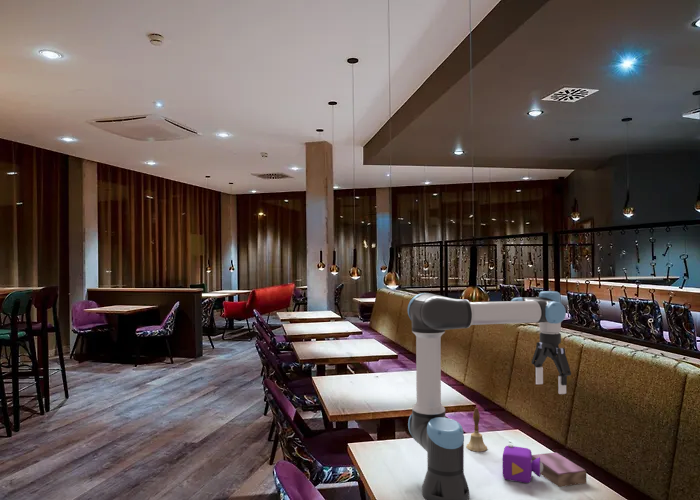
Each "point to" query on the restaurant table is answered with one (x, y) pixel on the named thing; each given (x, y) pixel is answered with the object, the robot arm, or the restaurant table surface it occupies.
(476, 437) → the hand bell
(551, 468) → the walnut step
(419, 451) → the restaurant table surface
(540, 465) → the toy camera
